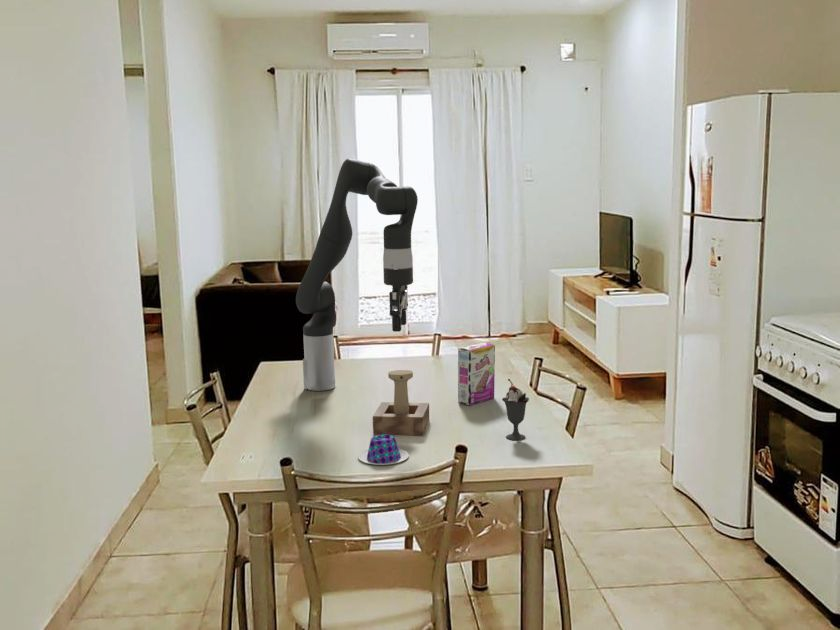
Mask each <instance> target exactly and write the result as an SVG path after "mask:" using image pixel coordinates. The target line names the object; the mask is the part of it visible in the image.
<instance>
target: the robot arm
mask: <svg viewBox="0 0 840 630" xmlns="http://www.w3.org/2000/svg"><path fill="white" fill-rule="evenodd" d="M349 193H354V194H359V195H362V196H368V197H369V199H370V200H371V201H372V202H373V203H374V204H375V208H376V211H377V212H378V213H379V214H381V215H385V216H399V215H401V216H400V218H399V220H398V221H397V222H395V223H391V224H388V225H386V226H384V228H383V257H382V261H383V263H382V264H383V284H384V285H385V286H391V287H392V289H391V291H389V293H388V296H389V317H391V322H392V323H391V327H392V329H391V330H392V331H393V332H394V333H395V332H399V333H400V332H401V331H402V326H406V324H407V311H408V310H407V309H408V307H409V301H408V287H409V286H411V285H412V284H413V283H414V264H413V263H414V262H413V261H414V260H413V257H414V256H413V251H412V229H413V223H414V218H415V214H416V212H417V208H418V194H417V192H416V190H415V189H414V188H413V187H411V186H408V185H407V186H397V184H396V183H395V182H393V181H392V180H390V179H388V178H386V177H385V175H384V174H383V172H382V171H381V170H380V168H379V167H378V166H377V165H375V164H373V163H372V162H371V163H370V162H367V161H362V160H359V159H354V158H346V159H344V161H343V162H342V164H341V166H340V169H339V172H338V176H337V179H336V183H335V187H334V191H333V194H332V198H331V202H330V206H329V208H328V211H327V214H326V217H325V220H324V223H323V224H322V227H321V230H320V233H319V236H318V238H317V241H316V245H315V249H314V251H313V254H312V256H311V259H310V262H309V265H308V267H307V270H306V271H305V273H304V276H303V278H302V279H301V282H300V284H299V285H298V289H297V290H296V296H295V305H296V307H297V309H298V311H299V312H301V313H302V314H305V315H309V314H311V315H312V314H313V315H312V317H311V318H310V320H309V321H307V322H306V323H305V324H303V327H302V331H303V335H302V336H303V350H304V351H303V352H304V353H303V355H304V358H302V372H303V373H302V375H303V378H302V379H303V389H304V390H307V389H308V391H314V392H321V391H322V392H323V391H328V390H332V389H334V388H336V373H335V372H336V371H335V370H336V368H335V349H334V348H335V347H334V344H335V343H334V327H335V325H336V295H335V291H334V288H333V286H332V285H331V284H330V283H329V282H326V281H325V280H326V279H327V278H328V276H329V275H330V273H331V272H332V271H334V269H335V268H337V266H338V265H339V264H340V262H341V261H342V260H343V259H344V257H345V256H346V254H347V252H348V249H349V247H350V244H351V241H352V239H353V228H352V224H351V220H350V218H349V214H348V211H347V210H348V209H347V202H346V201H347V196H348V194H349Z"/></svg>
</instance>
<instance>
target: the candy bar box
mask: <svg viewBox="0 0 840 630" xmlns="http://www.w3.org/2000/svg"><path fill="white" fill-rule="evenodd" d="M457 350H458V351H457V353H458V354H457V355H458V356H457V361H458V362H457V366H458V367H457V369H458V370H457V372H458V373H457V374H458V375H457V381H458V382H457V385H458V386H457V388H458V390H457V397H458V398H457V403H458V404H463V405H466V406H473V405H475V404H479V403H482V402H485V401H489V400H492V398H493V399H494V398H495V376H496V375H495V367H496V366H495V365H496V364H495V363H496V362H495V361H496V360H495V359H496V353H495V352H496V345H495V344H493V343H492V344H491V343H486V342H480V343H475V344H471V345H467V346H462V347H458V348H457Z"/></svg>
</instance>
